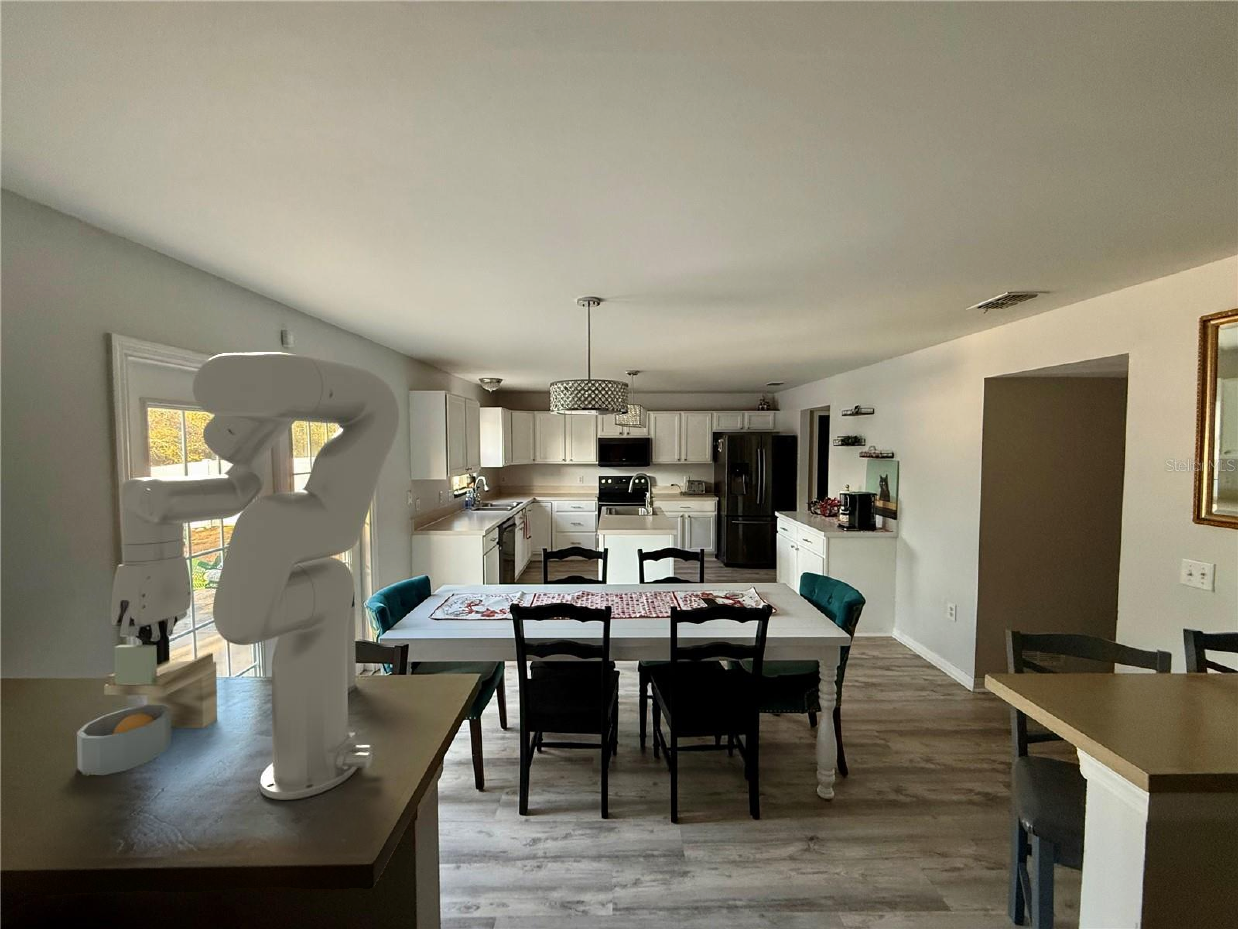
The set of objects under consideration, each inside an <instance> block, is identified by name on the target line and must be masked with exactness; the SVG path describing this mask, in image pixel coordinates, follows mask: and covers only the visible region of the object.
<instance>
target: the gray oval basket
mask: <svg viewBox="0 0 1238 929" xmlns="http://www.w3.org/2000/svg"><path fill="white" fill-rule="evenodd" d="M134 714H147V715H150V716H151V717H152V718H153V719H154V721H153V722H151V723H149V724H147V725H145V726H142V727H139V728H136V729H133V730H130V731H127V732H123V733H117V734H113V733H114V730H115V728H116V727H117V725H118V724H119V723H120V722H121V721H122V720H124V719H125V718H127V717H129V716H131V715H134ZM171 744H172V727H171V714H170V709H169V708H168V707H166V706H165V705H147V704H146V705H145V704H144V705H139V706H135V707H134V706H133V707H127V708H125V709H124V708H123V709H121V710H118V711H114V712H111V713H107V714H105V715H102V716H100V717H98V718H95V719H94V720H91V721H89V722H87V723H85V724H84V725H83V726H82V727H81V728H80V729H79V730H78V731H77V732H76V756H77V757H76V758H77V759H76V760H77V764H76V766H77V767H76V768H78V769H79V770H80V771H81V772H82V773H88V774H89V773H91V774H96V775H102V776H106V775H111V774H115V773H120V772H125V771H129V770H130V769H133V768H135V767H138V766H140V765H144V764H147V763H148V762H151V761H152V760H154V759H156V758H157V757H159V756H161V755H162V754H163V753H166V752H167V750H168V748H169V747H170V745H171ZM79 770H78V771H79Z"/></svg>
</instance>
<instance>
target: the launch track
mask: <svg viewBox="0 0 1238 929" xmlns="http://www.w3.org/2000/svg"><path fill="white" fill-rule="evenodd" d="M217 678H218V677H217V661H216V660H215V661H214V653H213V652H207V653H205V654H203V655H200V656H199V657H197V658H194V659H192V660H170V659H169V661H166V662H163V663H162V664H159V665H157V676H156V682H155V683H153V684H115V672H113V673H112V674H109V675H107V684H104V688H103V690H104V692H103V693H104V694H103V695H104V696H108V695H109V696H110V695H111V696H114V695H115V696H146V705H165V706H166V707H168V708H169V709H170V714H171V728H187V729H188V728H189V729H190V728H191V729H193V728H197V729H199V728H200V729H204V728H205V727H207V726H209V725H210V724H212V723H213V722H215V721H216V720H218V691H217V690H218V688H217V686H218V685H217V681H218V680H217Z"/></svg>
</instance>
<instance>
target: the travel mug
mask: <svg viewBox="0 0 1238 929" xmlns="http://www.w3.org/2000/svg"><path fill="white" fill-rule="evenodd" d="M355 603H356V602H355V595H354V596H353V601H352V606H351V611H350V617H349V623H348V637H347V690H348V694H349V693H351V692H352V691H354V690H355V689H356V687H357V680H356V678H357V675H356V674H357V672H356V671H357V669H356V665H357V664H356V661H357V660H356V659H357V658H356V609H355V607H356V604H355Z"/></svg>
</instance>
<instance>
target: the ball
mask: <svg viewBox="0 0 1238 929" xmlns="http://www.w3.org/2000/svg"><path fill="white" fill-rule="evenodd" d="M153 721H154V719H153V718H152V717H151V716H150V715H147V714H134V715H131V716H129V717H127V718H125V719H124V720H122V721H121V722H120V723H119V724H118V725H117V727H116V728H115V730H114V733H113V734H117V733H123V732H127V731H130V730H133V729H136V728H139V727H142V726H145V725H147V724H149V723H151V722H153Z"/></svg>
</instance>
